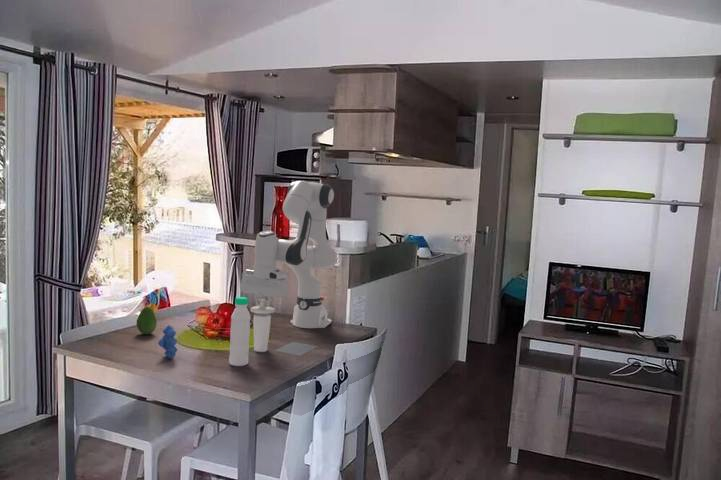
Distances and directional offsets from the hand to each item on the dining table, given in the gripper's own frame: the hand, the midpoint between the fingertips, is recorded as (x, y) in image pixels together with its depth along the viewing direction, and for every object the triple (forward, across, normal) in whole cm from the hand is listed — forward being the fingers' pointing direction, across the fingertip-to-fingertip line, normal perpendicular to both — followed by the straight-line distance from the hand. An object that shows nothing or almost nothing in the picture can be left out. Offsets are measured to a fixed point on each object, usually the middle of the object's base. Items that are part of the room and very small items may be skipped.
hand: (262, 306), depth 220 cm
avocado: (+19, -53, -7) cm, 57 cm away
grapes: (+19, -24, -27) cm, 41 cm away
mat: (+19, +11, +10) cm, 24 cm away
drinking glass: (+19, 0, 0) cm, 19 cm away
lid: (+2, 0, 0) cm, 2 cm away
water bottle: (+19, +2, -18) cm, 26 cm away
